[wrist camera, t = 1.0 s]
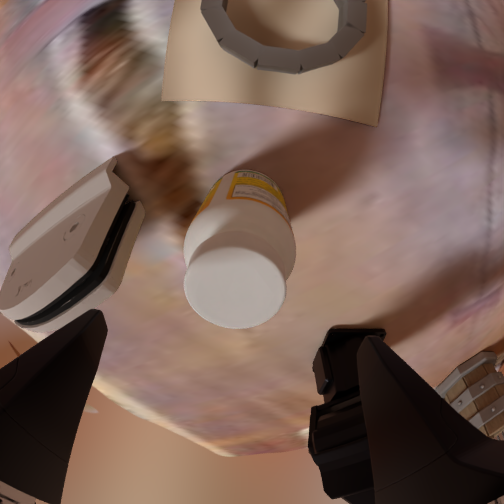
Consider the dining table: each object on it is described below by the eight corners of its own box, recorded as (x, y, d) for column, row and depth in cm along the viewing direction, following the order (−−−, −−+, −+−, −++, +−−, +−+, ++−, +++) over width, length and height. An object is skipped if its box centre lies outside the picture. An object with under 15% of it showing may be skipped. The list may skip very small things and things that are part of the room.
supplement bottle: (269, 157, 17) (282, 206, 9) (293, 227, 19) (319, 321, 11) (194, 185, 18) (142, 256, 10) (224, 250, 20) (204, 349, 12)
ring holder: (384, -30, 9) (397, -42, 7) (374, 126, 16) (390, 130, 13) (191, -57, 8) (184, -73, 6) (163, 101, 15) (150, 100, 13)
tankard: (497, 339, 28) (535, 406, 15) (485, 373, 33) (512, 430, 20) (395, 398, 33) (419, 480, 19) (399, 421, 38) (416, 485, 25)
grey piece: (117, 153, 17) (64, 260, 10) (152, 198, 20) (128, 311, 13) (13, 237, 20) (-22, 318, 13) (42, 263, 23) (15, 343, 17)
